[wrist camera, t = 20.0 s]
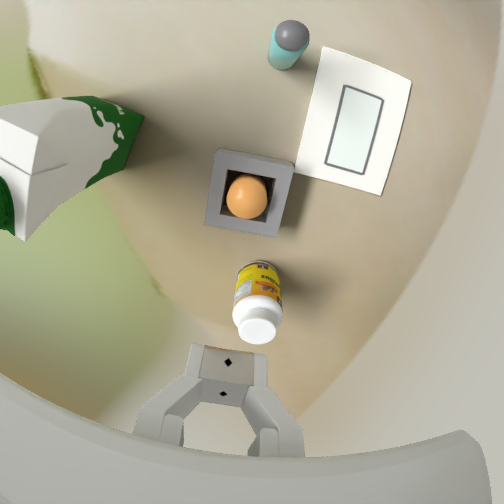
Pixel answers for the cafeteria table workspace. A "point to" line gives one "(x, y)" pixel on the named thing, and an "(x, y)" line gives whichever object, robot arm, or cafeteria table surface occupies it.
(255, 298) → the supplement bottle
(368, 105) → the worksheet
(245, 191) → the button
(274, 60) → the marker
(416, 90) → the cafeteria table surface
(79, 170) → the milk carton
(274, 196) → the button housing
